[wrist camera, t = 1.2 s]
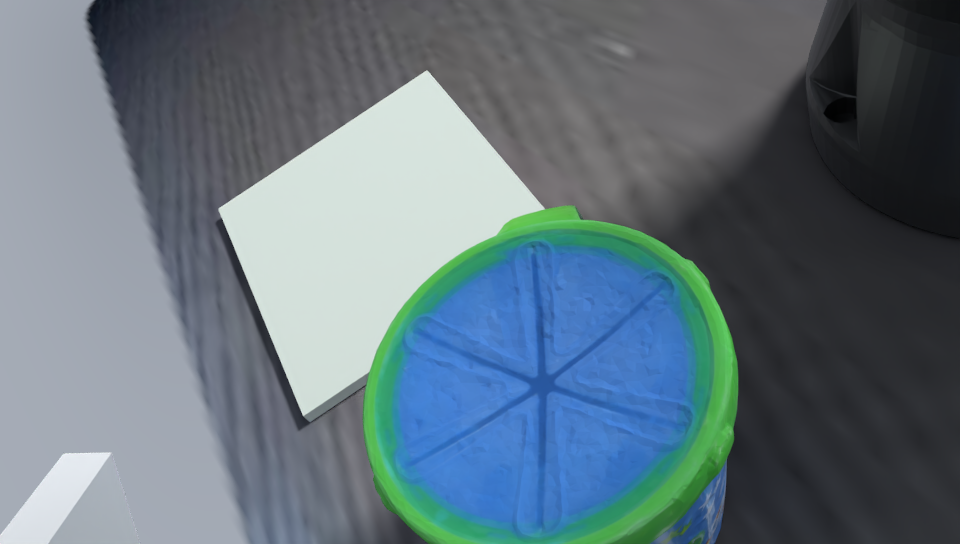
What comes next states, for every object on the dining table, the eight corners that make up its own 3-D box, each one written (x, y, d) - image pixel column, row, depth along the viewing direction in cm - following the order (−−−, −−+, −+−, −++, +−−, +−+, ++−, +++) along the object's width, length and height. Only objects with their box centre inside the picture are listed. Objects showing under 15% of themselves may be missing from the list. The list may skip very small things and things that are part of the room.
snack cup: (791, 766, 25) (746, 696, 17) (455, 734, 29) (298, 666, 21) (761, 307, 34) (722, 127, 26) (506, 329, 38) (407, 177, 30)
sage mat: (224, 215, 49) (218, 208, 49) (431, 78, 49) (427, 70, 49) (309, 422, 39) (303, 416, 38) (572, 245, 39) (569, 237, 38)
